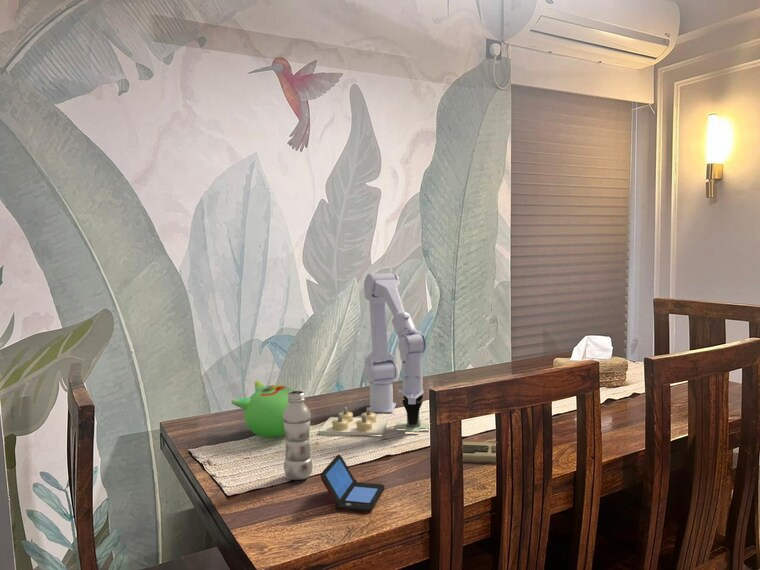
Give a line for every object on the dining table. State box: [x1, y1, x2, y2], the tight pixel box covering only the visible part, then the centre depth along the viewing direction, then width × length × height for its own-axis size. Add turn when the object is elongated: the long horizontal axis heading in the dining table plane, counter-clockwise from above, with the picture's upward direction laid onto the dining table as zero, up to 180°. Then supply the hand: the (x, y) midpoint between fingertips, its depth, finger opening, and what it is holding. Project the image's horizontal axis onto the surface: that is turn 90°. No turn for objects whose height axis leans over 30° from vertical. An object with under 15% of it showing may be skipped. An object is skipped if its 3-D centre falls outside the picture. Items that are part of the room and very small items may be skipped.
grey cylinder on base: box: [395, 413, 430, 433], centre depth 166 cm, size 10×10×6 cm
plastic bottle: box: [283, 390, 314, 481], centre depth 132 cm, size 6×7×20 cm
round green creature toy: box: [231, 380, 295, 439], centre depth 162 cm, size 18×17×15 cm
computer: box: [463, 441, 497, 463], centre depth 144 cm, size 16×8×3 cm, turn 79°
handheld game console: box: [319, 454, 385, 514], centre depth 122 cm, size 12×11×7 cm
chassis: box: [318, 406, 390, 436], centre depth 167 cm, size 13×18×5 cm
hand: (413, 422), depth 166 cm, fingers closed on grey cylinder on base, 4 cm apart
